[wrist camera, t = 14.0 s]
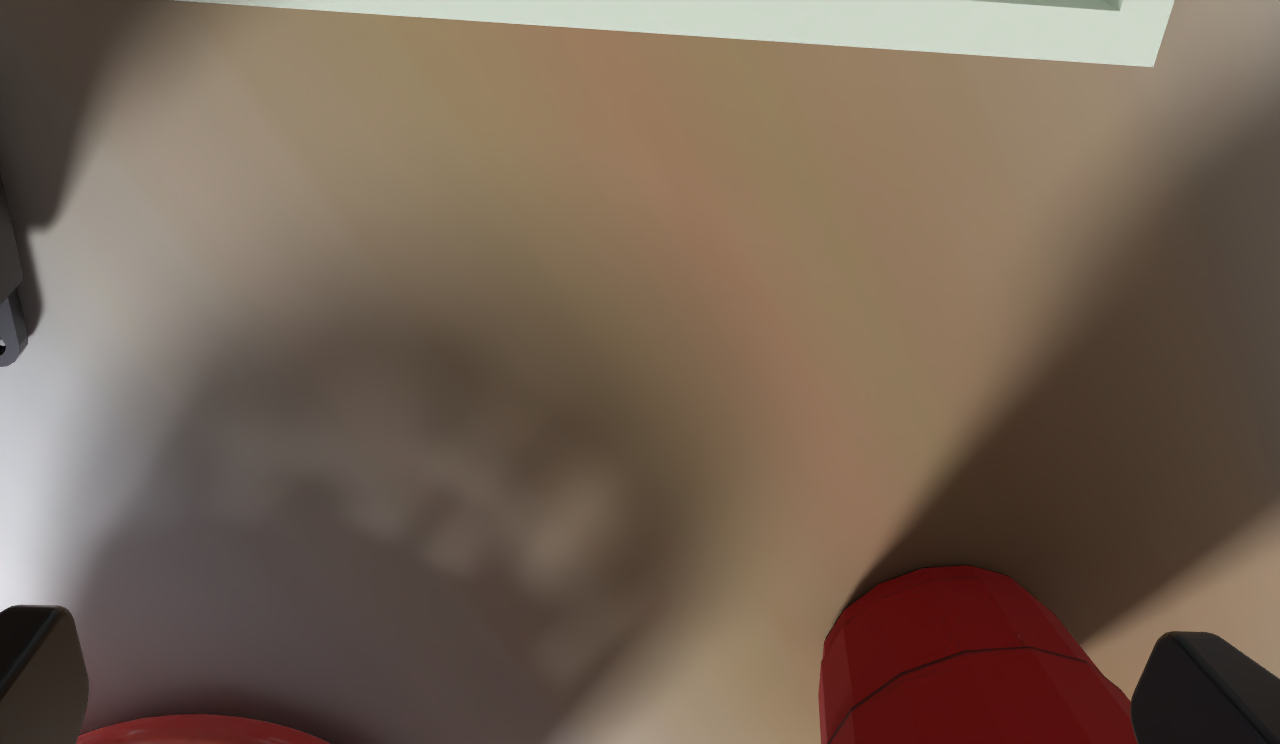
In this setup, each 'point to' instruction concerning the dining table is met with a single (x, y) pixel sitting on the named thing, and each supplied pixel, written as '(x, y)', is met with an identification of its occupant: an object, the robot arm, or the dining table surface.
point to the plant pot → (197, 731)
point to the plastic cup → (962, 668)
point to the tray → (832, 22)
